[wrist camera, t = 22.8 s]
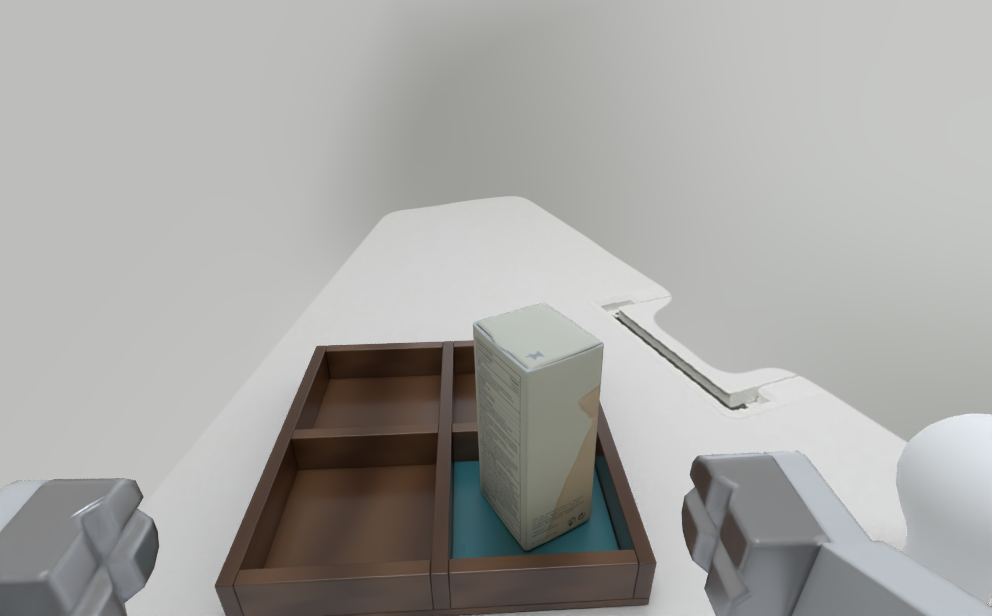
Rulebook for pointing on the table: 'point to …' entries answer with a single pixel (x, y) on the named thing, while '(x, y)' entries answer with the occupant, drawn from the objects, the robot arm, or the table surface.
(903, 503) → the lightbulb
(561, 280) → the table surface
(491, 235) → the table surface
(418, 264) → the table surface
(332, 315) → the table surface
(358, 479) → the grid
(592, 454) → the box
